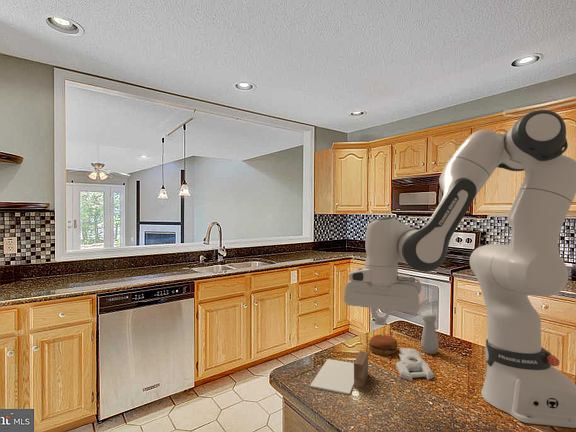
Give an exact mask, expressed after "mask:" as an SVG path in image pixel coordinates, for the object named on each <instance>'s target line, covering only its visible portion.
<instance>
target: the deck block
mask: <svg viewBox="0 0 576 432" xmlns="http://www.w3.org/2000/svg"><path fill="white" fill-rule="evenodd" d="M353 363H354V385H353V388H357V389H364V387H365V384H366V381H367V378H368V377H369V376H368V375H369V352H368V351H363V350H359V352H358V354H357V356H356V358H355V360H354V362H353Z"/></svg>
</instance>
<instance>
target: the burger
mask: <svg viewBox="0 0 576 432" xmlns="http://www.w3.org/2000/svg"><path fill="white" fill-rule="evenodd" d="M368 347H369V350H370V352H372V353H373V354H377V355H379V356H390V355H392V354H394V353H395V352H396V351H397V350H398V340H397V339H396V338H395V337H393V336H390V335H387V334H385V333H383V334H382V333H381V334H376V335H373V336H371V338H370V340H369V342H368Z"/></svg>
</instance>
